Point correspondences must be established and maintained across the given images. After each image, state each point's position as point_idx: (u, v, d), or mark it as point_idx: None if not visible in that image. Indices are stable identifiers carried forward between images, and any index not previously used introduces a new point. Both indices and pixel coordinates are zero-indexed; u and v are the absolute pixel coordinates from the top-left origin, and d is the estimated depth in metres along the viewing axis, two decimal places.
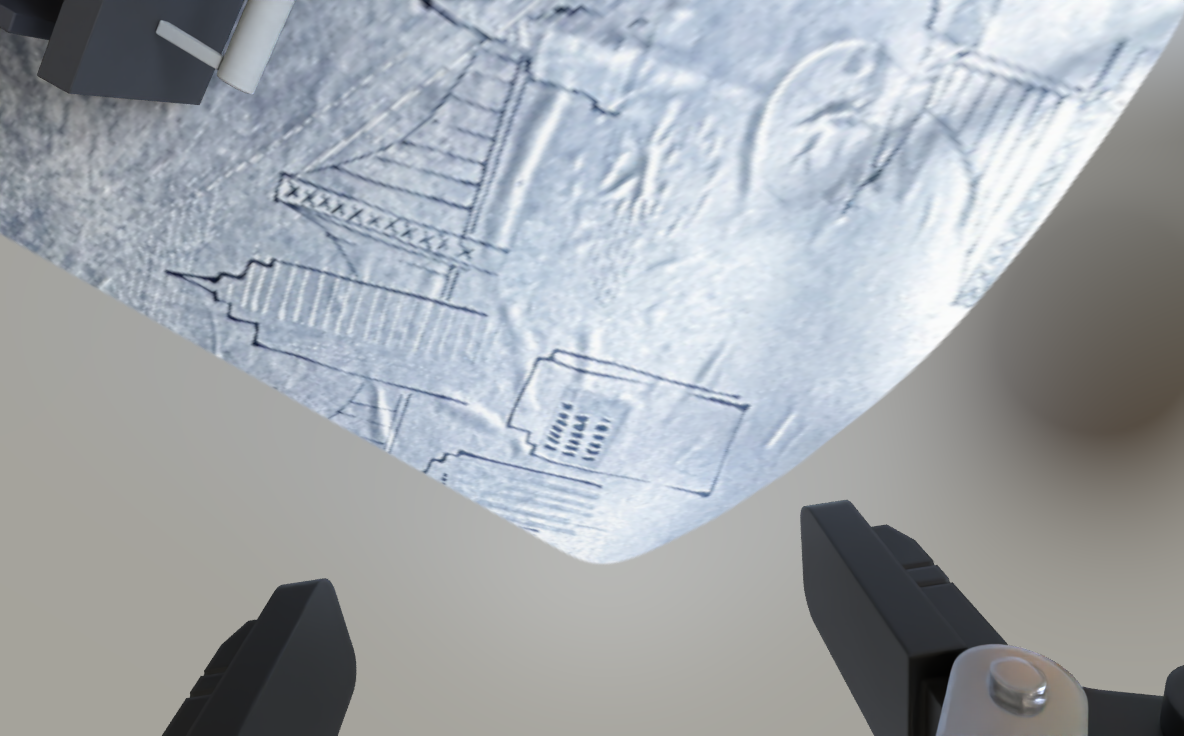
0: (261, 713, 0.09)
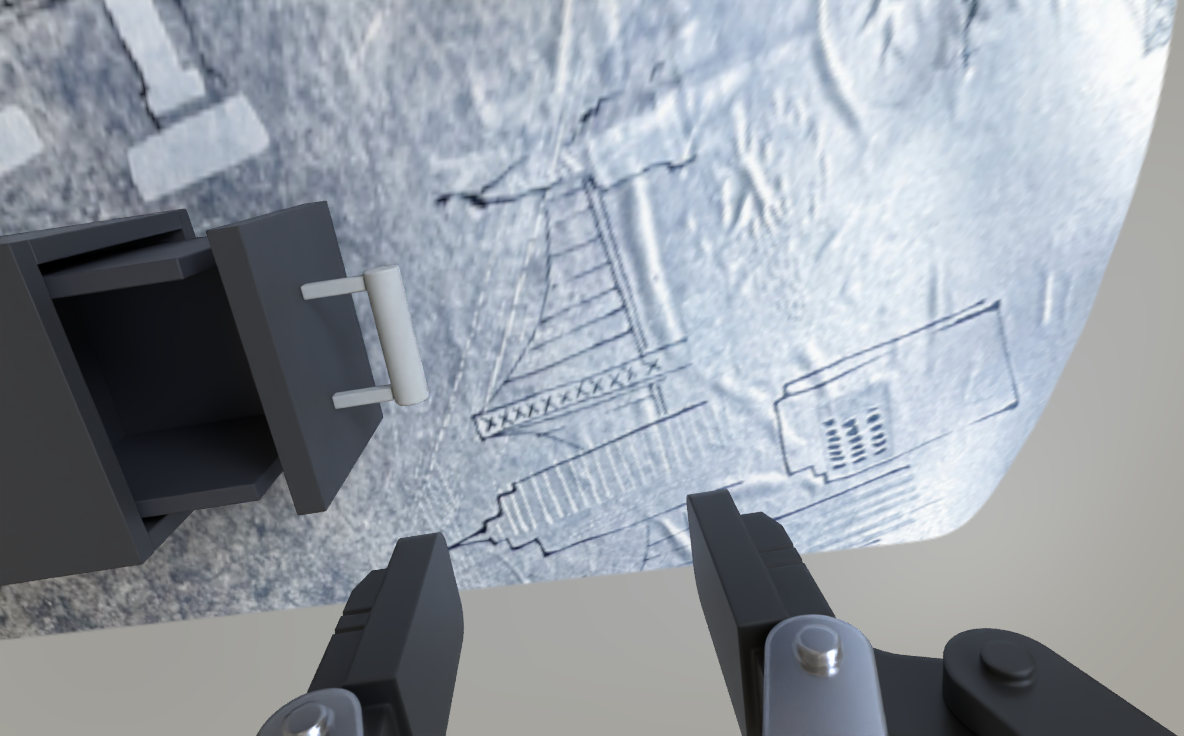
0: (412, 643, 0.10)
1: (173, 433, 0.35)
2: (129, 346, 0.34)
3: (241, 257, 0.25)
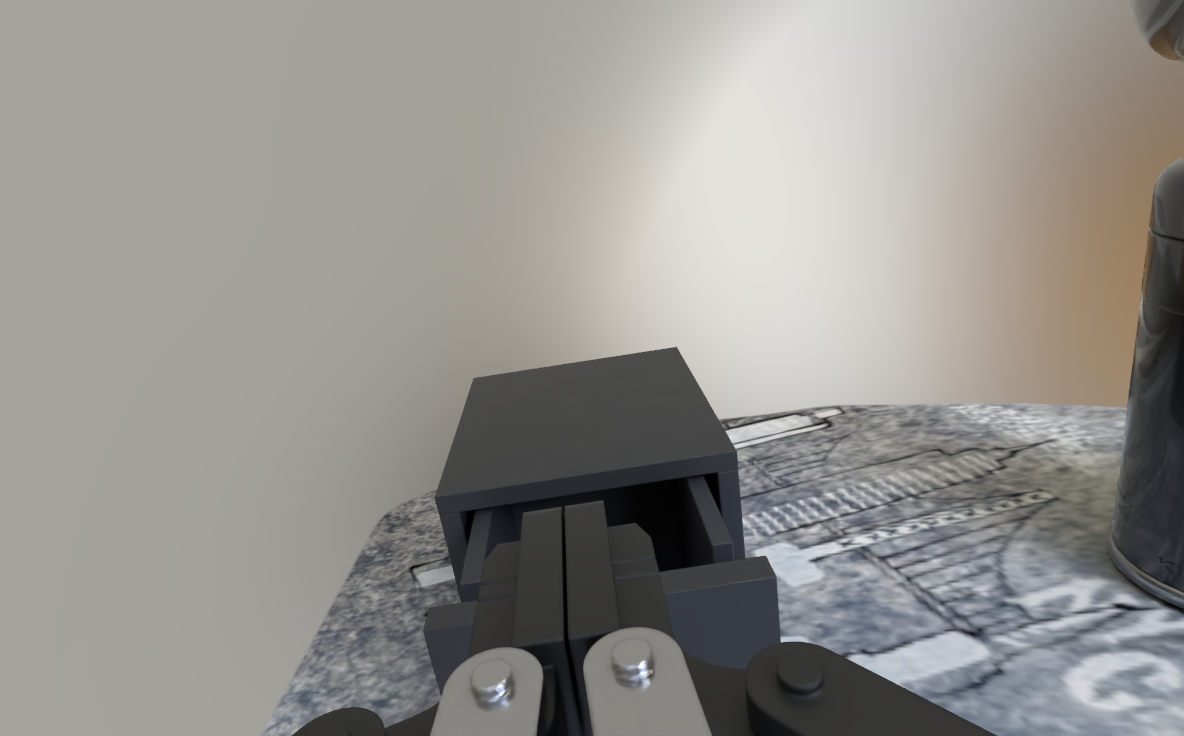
0: (564, 609, 0.10)
1: None
2: None
3: (740, 576, 0.22)
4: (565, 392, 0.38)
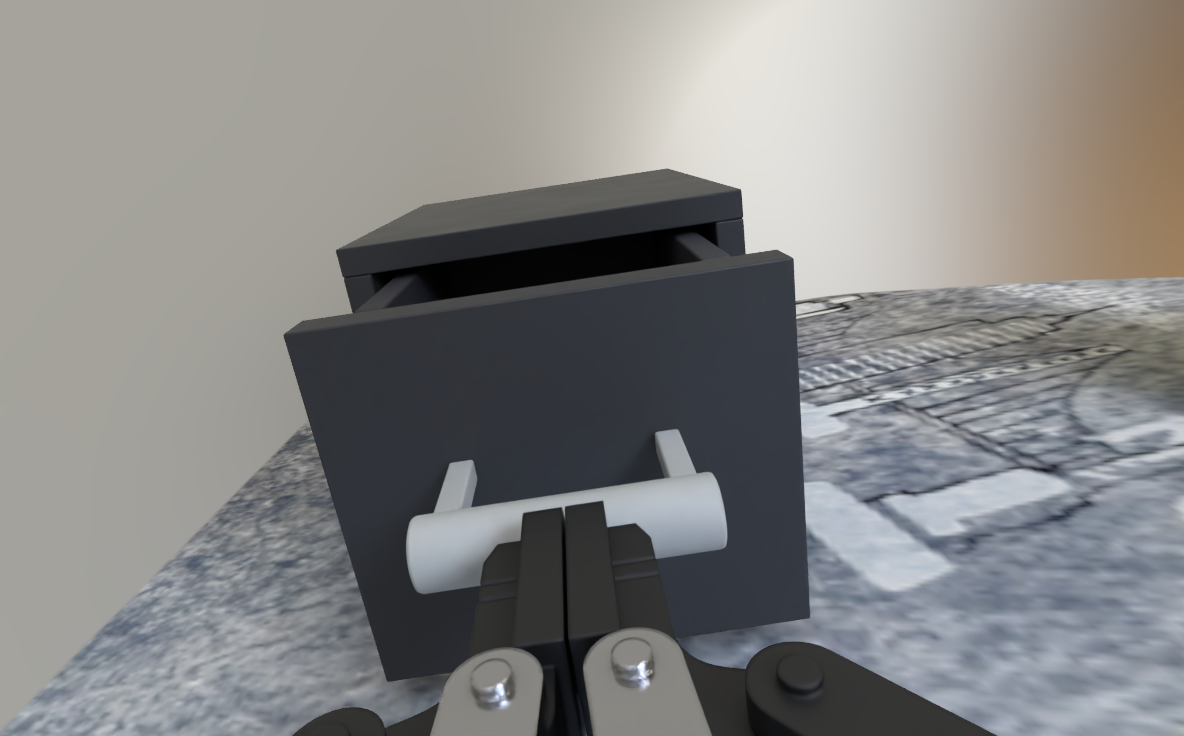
0: (564, 609, 0.10)
1: None
2: None
3: (742, 262, 0.16)
4: (528, 196, 0.31)
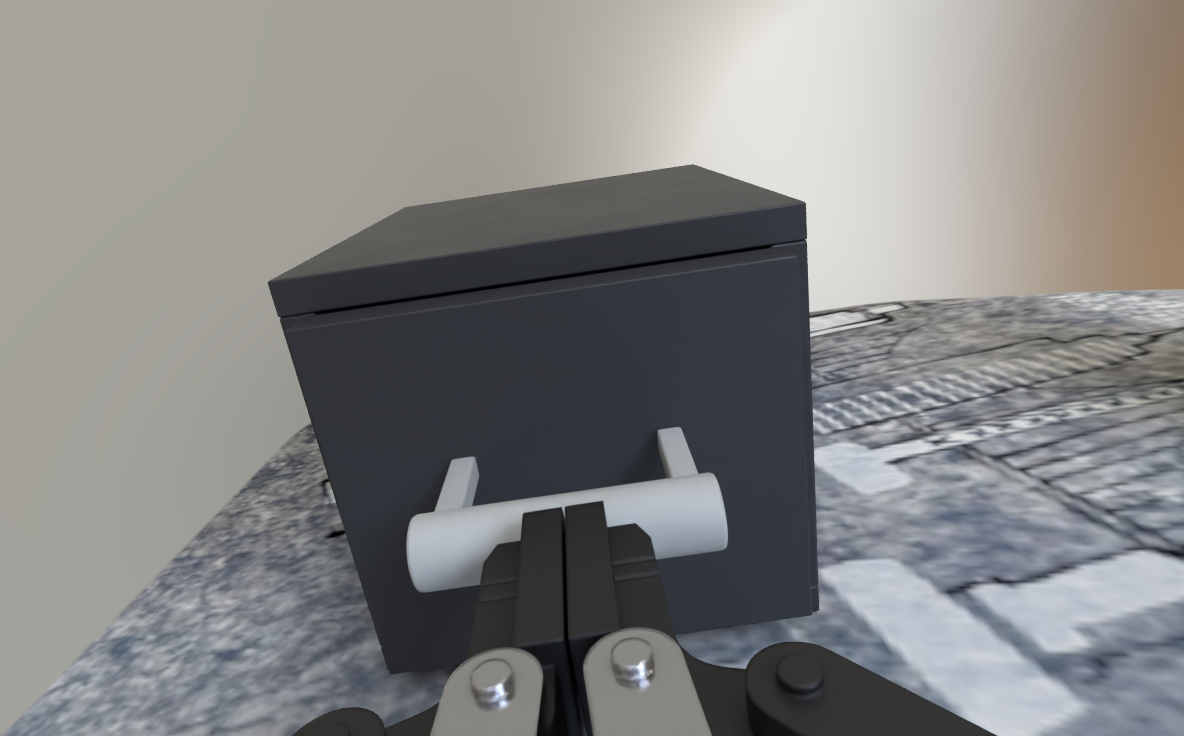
0: (564, 609, 0.10)
1: None
2: None
3: (745, 260, 0.15)
4: (527, 200, 0.25)
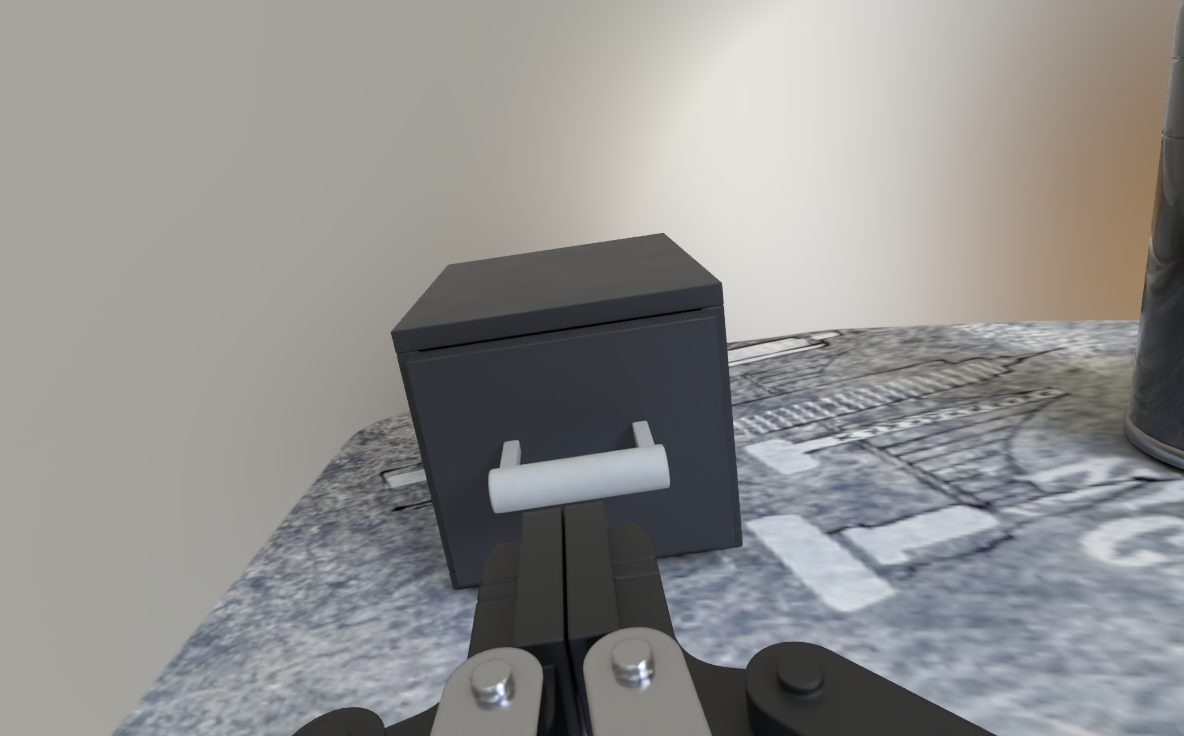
0: (564, 609, 0.10)
1: None
2: None
3: (684, 318, 0.26)
4: (542, 265, 0.35)
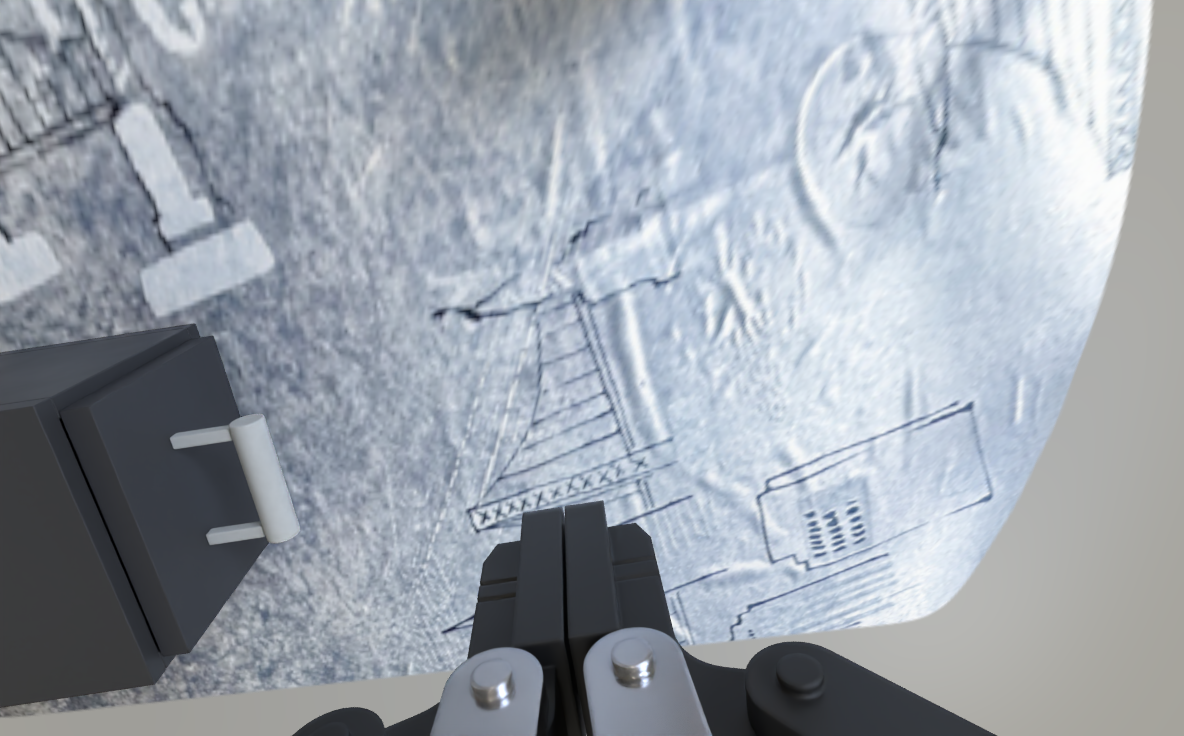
0: (564, 609, 0.10)
1: None
2: None
3: (93, 434, 0.26)
4: None
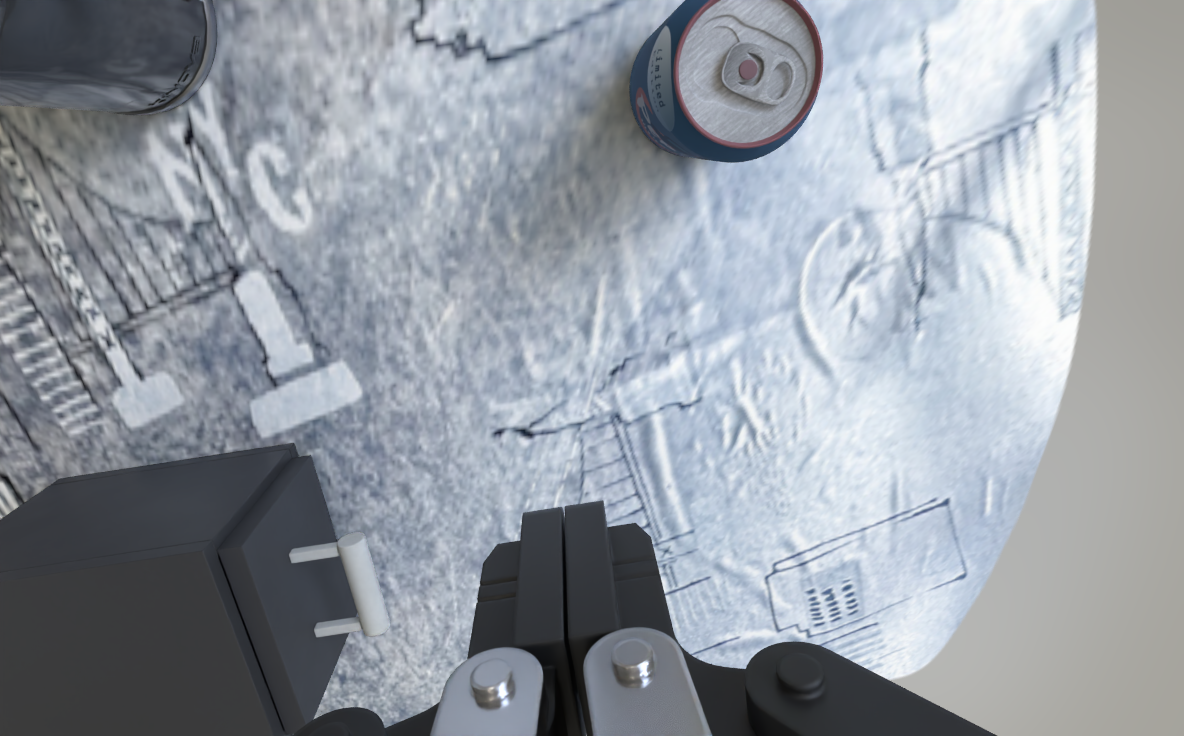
0: (564, 609, 0.10)
1: None
2: None
3: (243, 566, 0.33)
4: (52, 703, 0.34)
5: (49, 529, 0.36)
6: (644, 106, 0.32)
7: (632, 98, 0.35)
